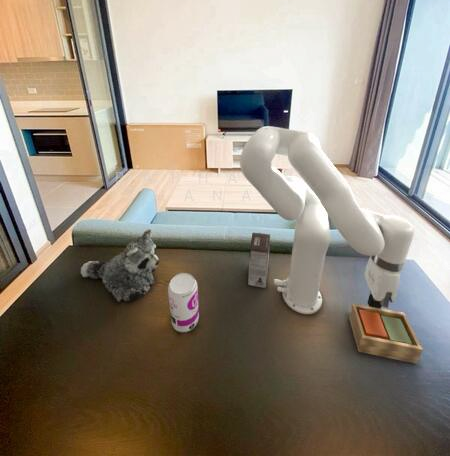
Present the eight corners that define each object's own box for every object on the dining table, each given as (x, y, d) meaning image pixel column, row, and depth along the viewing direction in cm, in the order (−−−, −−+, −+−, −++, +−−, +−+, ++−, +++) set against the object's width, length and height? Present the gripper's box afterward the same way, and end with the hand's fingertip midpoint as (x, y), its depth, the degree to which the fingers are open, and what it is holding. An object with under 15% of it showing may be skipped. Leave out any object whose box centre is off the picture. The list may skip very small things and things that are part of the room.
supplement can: (203, 313, 76) (202, 277, 70) (189, 338, 69) (186, 300, 63) (181, 303, 79) (178, 267, 74) (165, 326, 72) (161, 289, 67)
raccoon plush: (158, 305, 78) (152, 253, 71) (62, 302, 79) (45, 251, 71) (169, 267, 93) (165, 221, 85) (87, 266, 93) (76, 219, 86)
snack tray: (358, 351, 66) (362, 337, 64) (348, 316, 75) (352, 303, 73) (416, 363, 63) (422, 349, 61) (399, 325, 72) (404, 312, 70)
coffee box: (250, 265, 94) (252, 231, 88) (267, 268, 93) (270, 233, 87) (247, 285, 85) (249, 249, 80) (266, 288, 84) (269, 251, 78)
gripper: (364, 239, 75) (353, 284, 82) (383, 278, 61) (368, 328, 68) (391, 242, 74) (378, 287, 80) (416, 283, 60) (398, 334, 66)
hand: (373, 306), depth 74 cm, fingers closed
